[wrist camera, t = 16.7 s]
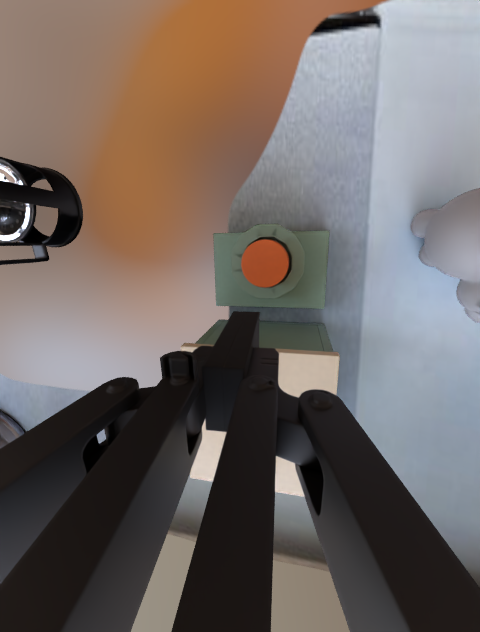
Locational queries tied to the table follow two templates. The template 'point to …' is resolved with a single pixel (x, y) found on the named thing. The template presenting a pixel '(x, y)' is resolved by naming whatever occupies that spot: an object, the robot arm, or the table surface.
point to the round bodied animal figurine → (454, 245)
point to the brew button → (265, 263)
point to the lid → (293, 378)
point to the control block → (299, 282)
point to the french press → (20, 208)
